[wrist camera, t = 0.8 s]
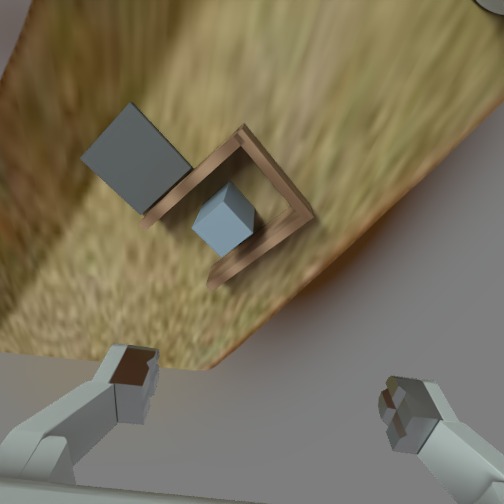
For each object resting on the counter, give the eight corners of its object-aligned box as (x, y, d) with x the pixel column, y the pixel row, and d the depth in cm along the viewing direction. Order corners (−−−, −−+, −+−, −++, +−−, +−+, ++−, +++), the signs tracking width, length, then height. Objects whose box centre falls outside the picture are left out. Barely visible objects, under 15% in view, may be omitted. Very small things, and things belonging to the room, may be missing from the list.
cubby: (244, 123, 39) (241, 129, 35) (309, 202, 44) (314, 217, 39) (150, 209, 45) (138, 223, 41) (216, 272, 50) (211, 291, 45)
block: (230, 180, 43) (223, 201, 36) (254, 208, 45) (252, 233, 38) (203, 203, 44) (191, 228, 37) (227, 229, 46) (221, 257, 39)
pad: (131, 102, 39) (129, 102, 38) (192, 166, 42) (191, 168, 42) (82, 157, 42) (79, 158, 41) (141, 213, 45) (140, 215, 45)
